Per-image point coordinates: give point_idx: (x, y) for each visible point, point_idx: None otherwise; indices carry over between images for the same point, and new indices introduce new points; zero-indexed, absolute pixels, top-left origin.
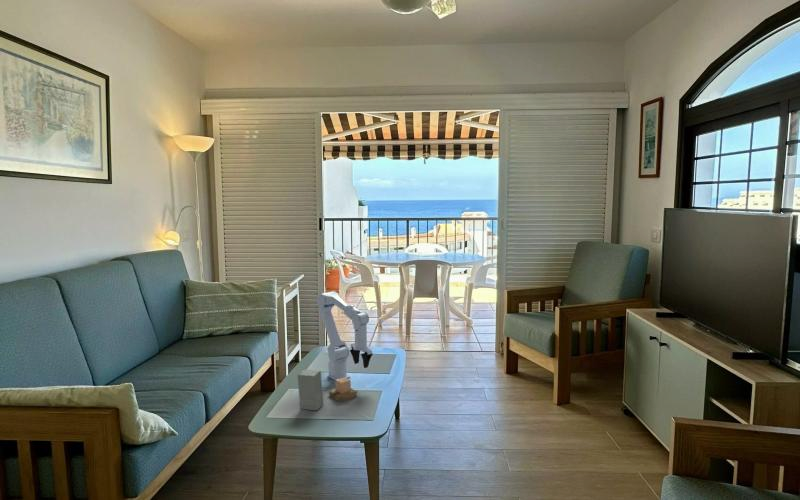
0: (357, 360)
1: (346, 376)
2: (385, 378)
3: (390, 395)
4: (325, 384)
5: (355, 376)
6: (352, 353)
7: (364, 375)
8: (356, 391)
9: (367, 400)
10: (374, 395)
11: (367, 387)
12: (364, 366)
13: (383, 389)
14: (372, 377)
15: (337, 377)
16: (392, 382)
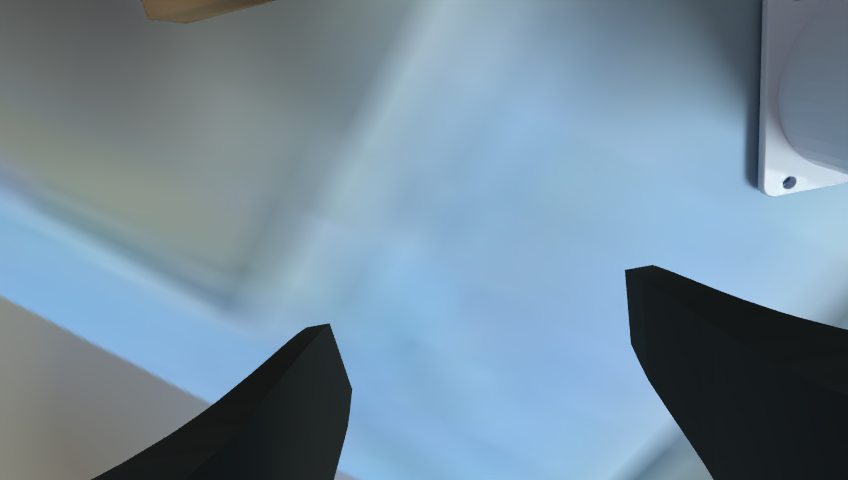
0: (658, 359)
1: (798, 155)
2: (495, 457)
3: (101, 328)
4: None
5: (741, 256)
6: (835, 376)
7: None
8: (150, 18)
9: (38, 87)
10: (146, 207)
11: (375, 235)
12: (290, 340)
13: (258, 338)
14: (592, 382)
15: (832, 9)
16: (376, 461)
